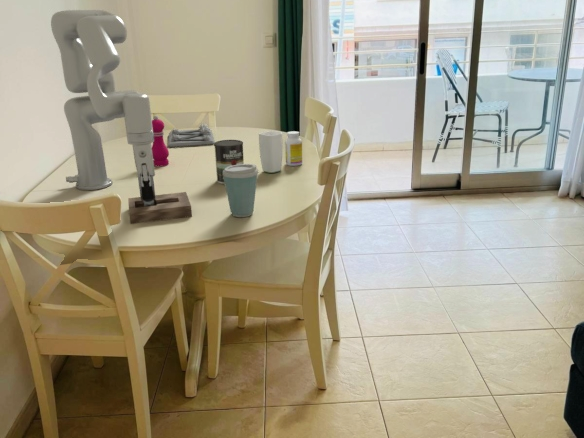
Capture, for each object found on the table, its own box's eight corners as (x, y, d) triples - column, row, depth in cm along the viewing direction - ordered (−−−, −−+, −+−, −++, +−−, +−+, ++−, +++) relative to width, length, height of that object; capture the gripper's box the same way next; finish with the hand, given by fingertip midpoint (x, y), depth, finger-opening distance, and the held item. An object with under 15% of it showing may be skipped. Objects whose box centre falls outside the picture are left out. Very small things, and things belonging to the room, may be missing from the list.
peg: (141, 216, 163) (136, 174, 158) (141, 210, 168) (135, 170, 163) (159, 214, 164) (154, 173, 160) (158, 208, 169) (153, 168, 164)
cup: (272, 167, 212) (271, 130, 206) (285, 171, 207) (284, 132, 201) (258, 171, 207) (256, 133, 202) (271, 175, 202) (269, 136, 197)
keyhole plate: (130, 223, 158) (128, 212, 157) (129, 208, 171) (128, 198, 170) (192, 216, 163) (191, 205, 162) (187, 202, 175) (186, 191, 174)
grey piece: (169, 135, 275) (167, 122, 273) (211, 133, 279) (210, 119, 276) (168, 149, 248) (166, 134, 245) (215, 146, 251) (214, 131, 249)
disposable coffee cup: (218, 217, 161) (215, 169, 156) (235, 206, 171) (232, 160, 165) (251, 221, 158) (248, 172, 152) (265, 209, 167) (263, 162, 162)
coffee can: (249, 182, 195) (246, 143, 190) (221, 186, 191) (218, 147, 186) (239, 175, 203) (237, 138, 198) (213, 178, 200) (210, 141, 195)
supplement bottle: (305, 163, 216) (305, 132, 211) (294, 167, 212) (293, 135, 207) (293, 161, 220) (292, 130, 216) (282, 164, 216) (281, 132, 211)
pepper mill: (165, 167, 217) (160, 117, 210) (148, 166, 218) (142, 117, 211) (172, 162, 223) (167, 114, 216) (156, 161, 225) (150, 113, 218)
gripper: (155, 142, 151) (162, 203, 157) (152, 130, 166) (158, 187, 173) (127, 144, 149) (135, 206, 156) (127, 132, 164) (134, 189, 171)
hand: (147, 195), depth 164 cm, fingers closed on peg, 4 cm apart
